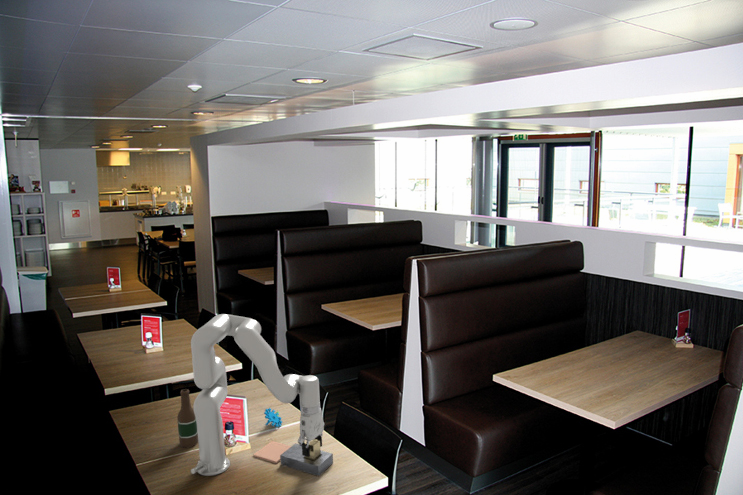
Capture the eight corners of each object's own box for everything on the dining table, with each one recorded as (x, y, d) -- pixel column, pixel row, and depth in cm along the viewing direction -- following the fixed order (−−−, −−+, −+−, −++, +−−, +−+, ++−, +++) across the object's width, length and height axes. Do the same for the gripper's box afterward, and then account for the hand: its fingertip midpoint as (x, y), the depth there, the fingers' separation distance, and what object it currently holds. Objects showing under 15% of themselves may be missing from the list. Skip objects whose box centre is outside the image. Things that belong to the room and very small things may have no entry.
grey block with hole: (318, 476, 203) (318, 466, 202) (280, 464, 212) (280, 455, 211) (333, 463, 212) (332, 453, 211) (296, 452, 220) (295, 443, 220)
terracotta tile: (276, 463, 212) (276, 461, 212) (253, 456, 218) (253, 454, 218) (295, 449, 223) (294, 447, 223) (272, 442, 229) (272, 440, 228)
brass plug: (314, 470, 207) (313, 445, 206) (305, 467, 209) (304, 443, 208) (321, 464, 211) (319, 440, 209) (311, 461, 213) (310, 438, 212)
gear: (277, 428, 237) (262, 411, 239) (268, 437, 238) (254, 419, 240) (287, 420, 248) (273, 403, 250) (278, 428, 249) (264, 412, 251)
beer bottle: (175, 445, 228) (170, 392, 225) (189, 437, 235) (185, 385, 232) (189, 449, 225) (184, 395, 221) (202, 441, 232) (198, 388, 228)
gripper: (304, 419, 197) (307, 464, 200) (330, 400, 212) (332, 442, 215) (288, 415, 201) (291, 459, 203) (315, 397, 216) (317, 438, 218)
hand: (312, 450), depth 209 cm, fingers open, 7 cm apart
